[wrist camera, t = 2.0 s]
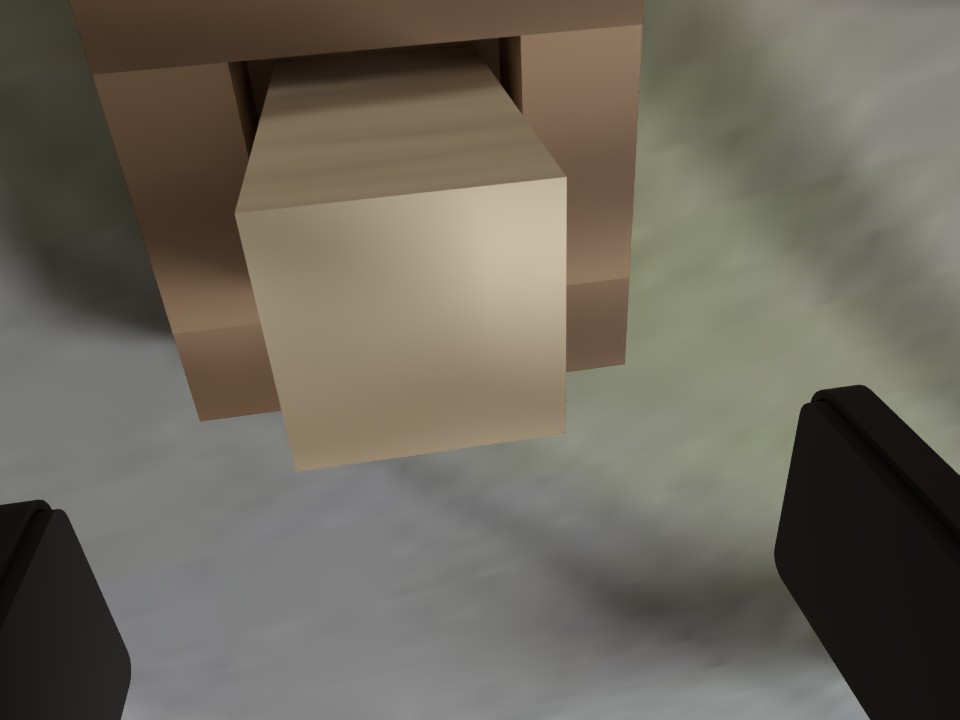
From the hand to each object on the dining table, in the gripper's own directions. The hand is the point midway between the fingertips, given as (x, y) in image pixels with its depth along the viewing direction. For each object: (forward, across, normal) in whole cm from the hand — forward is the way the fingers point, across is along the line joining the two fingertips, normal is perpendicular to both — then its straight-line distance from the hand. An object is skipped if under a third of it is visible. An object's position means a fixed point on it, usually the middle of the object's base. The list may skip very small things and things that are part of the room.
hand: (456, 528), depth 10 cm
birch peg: (+14, 0, -1) cm, 14 cm away
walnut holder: (+15, 0, -1) cm, 15 cm away
